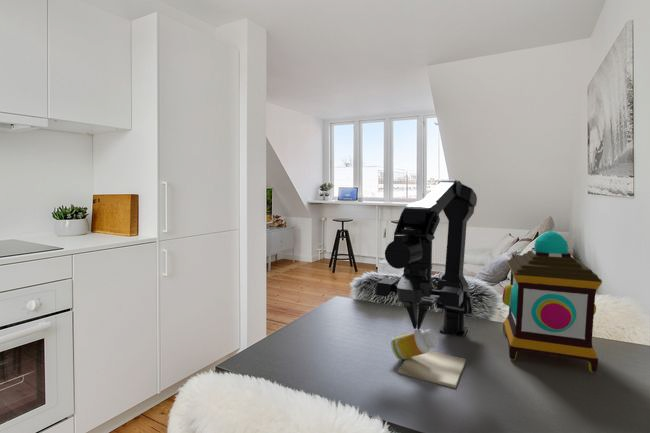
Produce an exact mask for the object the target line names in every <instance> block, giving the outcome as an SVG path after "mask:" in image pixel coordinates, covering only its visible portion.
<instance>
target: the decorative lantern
mask: <svg viewBox="0 0 650 433" xmlns="http://www.w3.org/2000/svg"><path fill="white" fill-rule="evenodd" d="M534 241H535V242H534V247H531V250H528V251H527V252H525V253H523V254H522V255H521V254H520V255H519V254H515V255H514V256H513V257H511V258H510V259H508V260H507V266H508V268H509V270H510V284H507V285H505V287H504V289H503V291H502V303H503V304H504V305H506V306H508V315H507V316H506V318H505V319H504V321H503V323H502V326H503V327H502V330H503V334H504V335H505V336H506V338H507V343H508V349H509V350H508V354H509V359H510V360H512V361H515V360H516V359H517V354H518V352H528V353H534V354H540V355H541V354H542V355H549V356H554V357H555V356H556V357H561V358H568V359H576V360H582V361H587V365H588V366H587V367H588V371H589V372H590V373H591V374H592V373H593V374H594V373H596V372H597V371H598V368H599V367H598V365H599V359H598V355H597V353H596V351H595V348H594V347H593V331H594V316H595V315H596V311H597V306H596V304H595V302H596V293H597V290H598V289H599V288H600V287H601V285H602V283H603V280H602V279H601V278H599V276H598V275H597V274H596V273H595V272H594V271H593V270H592V269H590V268H589V267H587V266H586V265H584V263H582V262H580V261H578V259H576V258H574V257H572V254H571V253H570V252H569V245H568V241H567V240H566V239H565V238H564V237H563V235H561V234H560V233H558V232H556V231H553V230H550V231H546V232H543V233H542V234H540V235H539V237H537V238H536V239H535V240H534Z"/></svg>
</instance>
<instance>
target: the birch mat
mask: <svg viewBox="0 0 650 433" xmlns="http://www.w3.org/2000/svg"><path fill="white" fill-rule="evenodd" d="M466 363H467V359H466V358H463V357H458V356H454V355H449V354H445V353H442V352H441V353H440V352H435V351H432V350H429V351H428V352H427V353H425V354H421V355H417V356H414V357H410V358H406V359H404V361H403V363H402V364H401V365H400V367H399V368H398V370H397V373H398V374H401V375H404V376H408V377H412V378H416V379H420V380H423V381H427V382H430V383H431V382H432V383H434V384H438V385H443V386H446V387H449V388H454V389H456V387H457V385H458V383H459V381H460V378H461V375H462V373H463V370H464V367H465V366H466Z"/></svg>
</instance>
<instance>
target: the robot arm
mask: <svg viewBox="0 0 650 433" xmlns="http://www.w3.org/2000/svg"><path fill="white" fill-rule="evenodd" d="M437 183H438V184H437V185H436V186H435V187H434V188H433V189H432V190H431V191H430V192H429V193H428V194H427V195H426V196H425V197H423V199H421V200H418V201H413V202H411V203H408V204H407V205H405V206H404V208H403V210H402V211H401V213H400V217H399V219H398V221H397V224H396V227H395V230H394V232H393V241H391V242H389V243H388V244H387V246H386V248H385V251H384V257H385V260H386V262H387V264H388V265H389V266H390V267H392V268H394V269H397V270H401V269H403V274H402V277H401V278H400V279H399V280H398V279H392V278H391V279H390V278H382V279H381V280H379V281H378V282H377V283H376V284H375V286H374V295H375V296H381V297H386V298H387V297H388V296H390V295H391V293H396V294H397V301H398V302H399V303H402V304H403V305H404V306H405V308H406V311H407V313H408V315H409V319H410V321H411V325H412V327H413V329H414V330H417V329H418V330H419V329H422V328H421V327H422V325H423V322H424V320H425V317H426V315H427V312H428V310H429V309H430V307H433V306H434V305H436V309H442V310H443V311H442V312H443V313H442V314H443V318H442V320H443V321H442V325H441V327H440V328H439V331H438V332H439V333H441V334H442V333H444V334H448V335H453V336H458V337H465V335H466V334H467V331H468V327H467V326H465V322H466V321H465V320H466V316H467V315H468V314H473V309H474V302H473V299H472V297H471V294H470V292H469V284H468V282H467V280H466V277H465V276H464V265H465V253H466V252H465V249H466V237H467V223H468V221H469V220H470V218H471V217H472V216H473V214H474V213H475V207H476V206H477V202H478V196H477V194H476V193H475V191H474V189H473V188H472V187H469V186H468V185H465V184H464V183H462V182H461V181H460V180H458V179H442V180H439V181H438V182H437ZM442 211H443V213H444V215H445V217H446V218H447V220H448V221H447V222H448V225H447V239H446V253H445V266H444V274H443V276H442V277H441V278H440V279H438V280H437V282H436V289H433V282H432V269H433V264H432V263H433V260H432V258H433V240H435V238H436V237H435V233H436V230H437V227H438V226H439V223H440V221H441V219H440V218H441V217H440V213H442Z"/></svg>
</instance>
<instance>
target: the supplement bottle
mask: <svg viewBox="0 0 650 433" xmlns="http://www.w3.org/2000/svg"><path fill="white" fill-rule="evenodd" d="M438 340H439V339H438V337H437V335H436V332H435V331H434V330H433V329H432V328H428V329H425V330H423V329H422V328H420V329H419V330H418V329H417V328H416V329H414V330H411V331H407V332H405V333H404V332H403V333H401V334H397V335H395V336H392V337H391V339H390V348H391V351H392V353H393V355H394V356H395V358H396V359H397V360H400V361H402V360H406V359H407V358H410V357H414V356H417V355H421V354H425V353H427V352H428V351H431V350H430V349H434V348H437V347H438V345H439V341H438Z"/></svg>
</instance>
